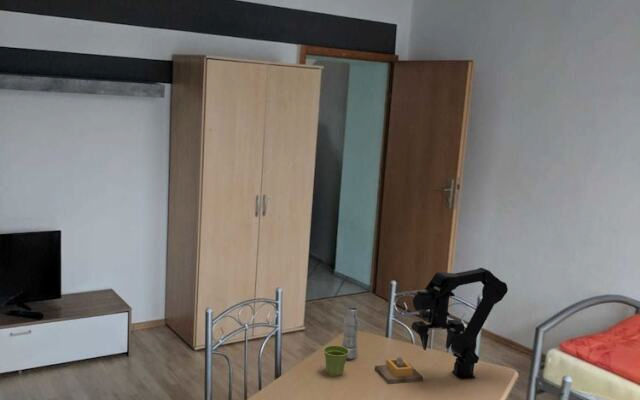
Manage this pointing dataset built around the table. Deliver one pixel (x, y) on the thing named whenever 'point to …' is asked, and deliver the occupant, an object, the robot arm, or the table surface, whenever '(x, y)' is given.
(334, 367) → the plant pot
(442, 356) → the table surface
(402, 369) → the tan rectangular frame
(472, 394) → the table surface
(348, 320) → the plastic bottle
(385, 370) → the keeper board
